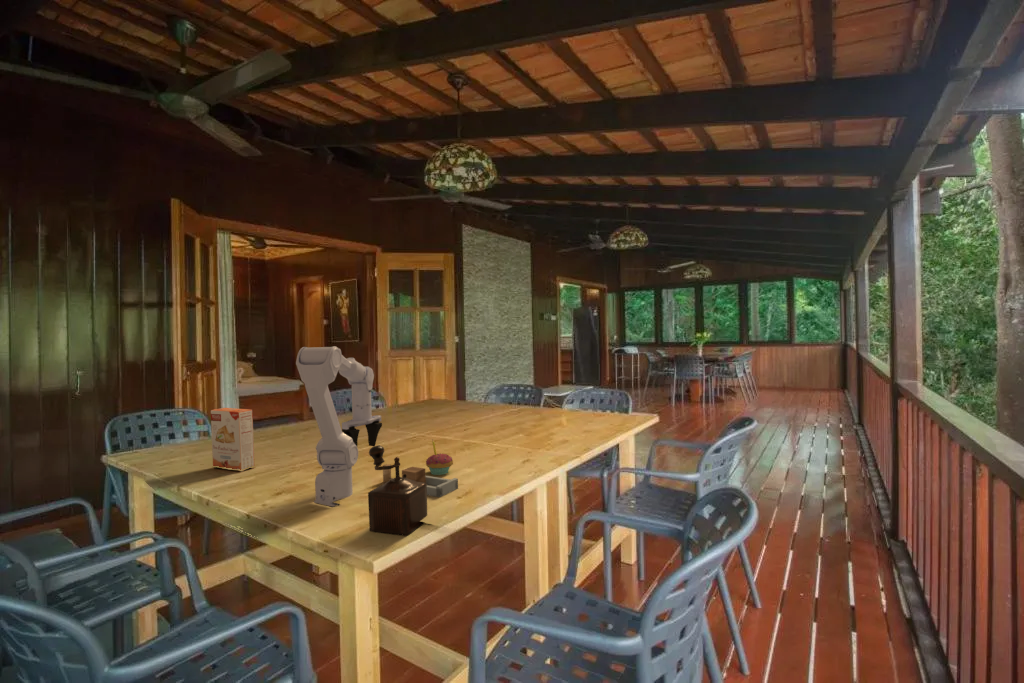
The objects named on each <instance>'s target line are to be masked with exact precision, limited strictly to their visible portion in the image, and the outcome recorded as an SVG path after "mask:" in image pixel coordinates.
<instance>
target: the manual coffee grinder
mask: <svg viewBox="0 0 1024 683" xmlns="http://www.w3.org/2000/svg"><path fill="white" fill-rule="evenodd" d="M368 451H369V452H368V454H369V456H370V457H371V458H372V459H373V465H374V470H375V471H383V470H387V469H391V470H392V469H394V468H395V470H394V471H395V477H393V478H394V479H392V480H390V481H388V482H386V483H382V484H381V485H378V486H376V487H375V488H373V489H372V490H370V491H368V493H367V499H368V500H367V502H368V521H369V522H368V524H369V528H368V530H369V532H372V533H377V534H378V533H379V534H384V535H385V534H386V535H391V536H392V535H394V536H404V537H405V536H406V537H407V536H409V535H410V534H412V533H414V532H415V531H416V530H418V529H419V528H420V527H421V526H423V525H424V524H425V522H424V521H422V520H423V519H425V518H426V517H427V516H428V495H427V483H424V482H416V481H415V480H410V479H407V478H406V477H407V475H406V474H404V475H403V477H402V476H400V466H401V463H400V457H398V456H397V457H394V459H393V460H394V463H393V464H392V465H391V464H390V465H391V466H383V465H382V464H383V463H385V460H384V458H383V456H384V454H385V448H384V446H382V445H379V444H378V445H375V446H371V448H369V450H368Z"/></svg>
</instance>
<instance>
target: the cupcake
mask: <svg viewBox="0 0 1024 683" xmlns="http://www.w3.org/2000/svg"><path fill="white" fill-rule="evenodd" d="M431 440H432V441H431V443H432V447H433V453H434V454H432V455H430V456H429V457H428V458H427V459H426V460H425V465H426V468H428V469H429V471H430V474H431V475H434V476H442V475H447V474H448V473H449V470H450V468H451V467H452V466H453V465H454V460H453V457H451V455H449V454H448V453H437V448H436V442H435V441H434V439H431Z"/></svg>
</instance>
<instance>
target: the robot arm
mask: <svg viewBox="0 0 1024 683" xmlns="http://www.w3.org/2000/svg"><path fill="white" fill-rule="evenodd" d="M295 365H296V368H297V371H298V373H299V377H300V379H301V382H303V383H304V387H305V391H306V393H307V396H308V400H309V403H310V406H311V409H312V411H313V415H314V418H315V421H316V423H317V426H318V429H319V432H320V436H321V438H320V439H319V440H318V441H317V443H316V445H315V451H316V460H317V463H318V464H319V466H321V469H322V471H321V472H319V473H318V474H317V475H316V477H315V479H314V481H315V482H314V486H315V487H314V488H315V500H313V503H315V504H319V505H324V506H329V507H332V508H333V507H337V506H339V505H340V503H338V502H335V501H339V500H342V499H345V498H349V497H351V496H352V495H353V468H352V467H353V466H355V465H356V463H357V461H358V459H359V449H358V439H359V435H360V434H359V433H360V431H361V430H360V429H357V428H358V427H361V426H365V428H366V432H367V438H368V440H367V442H368V447H369V446H370V447H374V446H376V443H377V439H378V435H379V434H380V431H381V428H382V427H383V422H382V415H379V414H378V415H372V413H373V412H372V411H373V410H372V390H373V383H374V378H375V374H374V370H373V369H372V367H370V366H365V365H363V364H362V363H361V362H358V361H357V360H356V358H354V357H347V358H346V357H345V356H344V355H343V354H342V350H341V348H339V347H337V346H335V345H334V346H323V347H321V346H319V347H315V346H313V347H307V346H303V347H301V348H300V349H299V351H298V352H297V356H296V361H295ZM338 373H339V375H340V376H342V377H343V378H345V379H346V380H347V382H348V384H349V385H350V386H351V406H352V407H351V408H352V410H351V411H352V412H351V413H352V419H349V420H346V421H344V422H343V421H342V422H341V423H340V421H339V418H338V414H337V411H336V407H335V404H334V401H333V398H332V395H331V392H330V389H329V385H330V384H331V383H333V382H335V380H336V378H337V375H338Z"/></svg>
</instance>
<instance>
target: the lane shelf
mask: <svg viewBox="0 0 1024 683" xmlns="http://www.w3.org/2000/svg"><path fill="white" fill-rule="evenodd" d="M426 483H427V496H429V497H430V496H431V497H437V498H441V497H444V496H445V495H448V494H449V493H452V492H454V491H455V490H458V489H459V478H456V477H454V478H451V479H449V478H442V477H437V476H431V475H426Z"/></svg>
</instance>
